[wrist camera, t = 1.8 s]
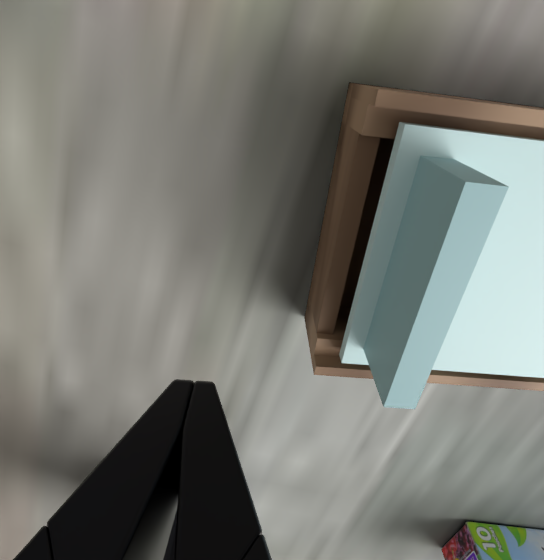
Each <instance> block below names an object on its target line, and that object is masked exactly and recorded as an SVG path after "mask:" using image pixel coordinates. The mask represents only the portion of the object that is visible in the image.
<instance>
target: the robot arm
mask: <svg viewBox="0 0 544 560" xmlns="http://www.w3.org/2000/svg"><path fill="white" fill-rule="evenodd" d="M47 527H48V528H47ZM261 534H262V529H261V526H260V523H259V520H258V516H257V513H256V510H255V507H254V504H253V501H252V498H251V495H250V492H249V489H248V485H247V482H246V479H245V476H244V473H243V470H242V467H241V464H240V461H239V458H238V454H237V451H236V448H235V445H234V442H233V439H232V436H231V433H230V430H229V427H228V423H227V420H226V417H225V414H224V411H223V408H222V405H221V402H220V399H219V395H218V392H217V389H216V386H215V384H214V383H213V382H208V381H196V382H195V383H194V382H193V381H191V380H179V379H176V380H174V381H173V382H172V383H171V384H170V385H169V386H168V387H167V388H166V389H165V391H164V392H163V393H162V394H161V395H160V396H159V397H158V398H157V400H156V401H155V402H154V403H153V404H152V405H151V406H150V407H149V408H148V410H147V411H146V412H145V413H144V414H143V415H142V416H141V417H140V419H139V420H138V421H137V422H136V423H135V424H134V425H133V426H132V428H131V429H130V430H129V431H128V432H127V433H126V434H125V435H124V436H123V438H122V439H121V440H120V441H119V442H118V443H117V444H116V445H115V447H114V448H113V449H112V450H111V451H110V452H109V453H108V454H107V456H106V457H105V458H104V459H103V460H102V461H101V462H100V463H99V465H98V466H97V467H96V468H95V469H94V470H93V471H92V472H91V473H90V475H89V476H88V477H87V478H86V479H85V480H84V481H83V482H82V484H81V485H80V486H79V487H78V488H77V489H76V490H75V491H74V493H73V494H72V495H71V496H70V497H69V498H68V499H67V500H66V502H65V503H64V504H63V505H62V506H61V507H60V508H59V509H58V510H57V512H56V513H55V514H54V515H53V516H52V517H51V518H50V519H49V521H48V522H47V526H43V527H42V528H41V529H40V530H39V531H38V533H37V534H36V535H35V536H34V537H33V538H32V539H31V540H30V542H29V543H28V544H27V545H26V546H25V547H24V548H23V549H22V551H21V552H20V553H19V554H18V555H17V556H16V557H15V558H14V559H13V560H272V559H271V556H270V553H269V550H268V547H267V544H266V541H265V537H264V535H261Z"/></svg>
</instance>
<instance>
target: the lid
mask: <svg viewBox="0 0 544 560" xmlns="http://www.w3.org/2000/svg"><path fill="white" fill-rule="evenodd" d="M339 356H340V359H341V363H347V364H360V365H369V367H370V370H371V372H372V375H373V378H374V381H375V384H376V387H377V389H378V392H379V395H380V398H381V401H382V404H383V406H384V407H391V408H406V409H415V408H416V406H417V403H418V401H419V399H420V396H421V394H422V391H423V389H424V387H425V384H426V382H427V380H428V377H429V375H430V373H431V370H442V371H455V372H469V373H482V374H496V375H510V376H523V377H537V378H544V140H543V139H535V138H527V137H519V136H511V135H502V134H494V133H486V132H478V131H470V130H462V129H454V128H446V127H438V126H430V125H422V124H414V123H406V122H399V125H398V129H397V133H396V137H395V141H394V145H393V149H392V152H391V156H390V160H389V164H388V168H387V172H386V176H385V179H384V183H383V187H382V191H381V195H380V199H379V203H378V207H377V210H376V214H375V218H374V222H373V226H372V230H371V234H370V237H369V241H368V245H367V249H366V253H365V257H364V261H363V264H362V268H361V272H360V276H359V280H358V284H357V288H356V291H355V295H354V299H353V303H352V307H351V311H350V315H349V318H348V322H347V326H346V330H345V334H344V338H343V342H342V345H341V349H340V353H339Z"/></svg>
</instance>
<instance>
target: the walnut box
mask: <svg viewBox="0 0 544 560" xmlns="http://www.w3.org/2000/svg"><path fill="white" fill-rule="evenodd" d="M399 122H406V123H414V124H422V125H430V126H438V127H446V128H454V129H462V130H470V131H478V132H486V133H494V134H502V135H511V136H519V137H527V138H535V139H543V140H544V108H541V107H534V106H526V105H518V104H511V103H503V102H495V101H488V100H480V99H472V98H465V97H457V96H449V95H442V94H434V93H426V92H419V91H411V90H403V89H396V88H388V87H380V86H373V85H365V84H357V83H350V82H349V87H348V92H347V97H346V103H345V108H344V113H343V118H342V124H341V129H340V134H339V139H338V145H337V150H336V155H335V160H334V166H333V171H332V176H331V181H330V187H329V192H328V197H327V202H326V208H325V213H324V218H323V223H322V229H321V234H320V239H319V244H318V250H317V255H316V260H315V265H314V271H313V276H312V281H311V286H310V292H309V297H308V302H307V307H306V313H305V323H306V329H307V335H308V341H309V347H310V353H311V359H312V365H313V371H314V375H326V376H340V377H354V378H369V379H374V378H373V375H372V372H371V370H370V367H369V365H360V364H347V363H341V359H340V356H339V353H340V349H341V345H342V342H343V338H344V334H345V330H346V326H347V322H348V318H349V315H350V311H351V307H352V303H353V299H354V295H355V291H356V288H357V284H358V280H359V276H360V272H361V268H362V264H363V261H364V257H365V253H366V249H367V245H368V241H369V237H370V234H371V230H372V226H373V222H374V218H375V214H376V210H377V207H378V203H379V199H380V195H381V191H382V187H383V183H384V179H385V176H386V172H387V168H388V164H389V160H390V156H391V152H392V149H393V145H394V141H395V137H396V133H397V129H398V125H399ZM426 383H439V384H453V385H467V386H481V387H495V388H509V389H524V390H538V391H544V378H537V377H523V376H510V375H496V374H482V373H469V372H455V371H442V370H431V373H430V375H429V377H428V380H427V382H426Z"/></svg>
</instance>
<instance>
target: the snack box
mask: <svg viewBox="0 0 544 560" xmlns="http://www.w3.org/2000/svg"><path fill="white" fill-rule="evenodd" d="M442 552H443V555H444V558H445V560H544V530H539V529H529V528H520V527H511V526H502V525H494V524H485V523H476V522H466V523H465V525H464V526H463V527H462V528H461V529H460V531H458V532H457V534H456V535H455V536H454V537H453V538H452V539H450V540H449V541H448V542H447V543H446V545H445V546H444V547H443V548H442Z"/></svg>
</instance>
